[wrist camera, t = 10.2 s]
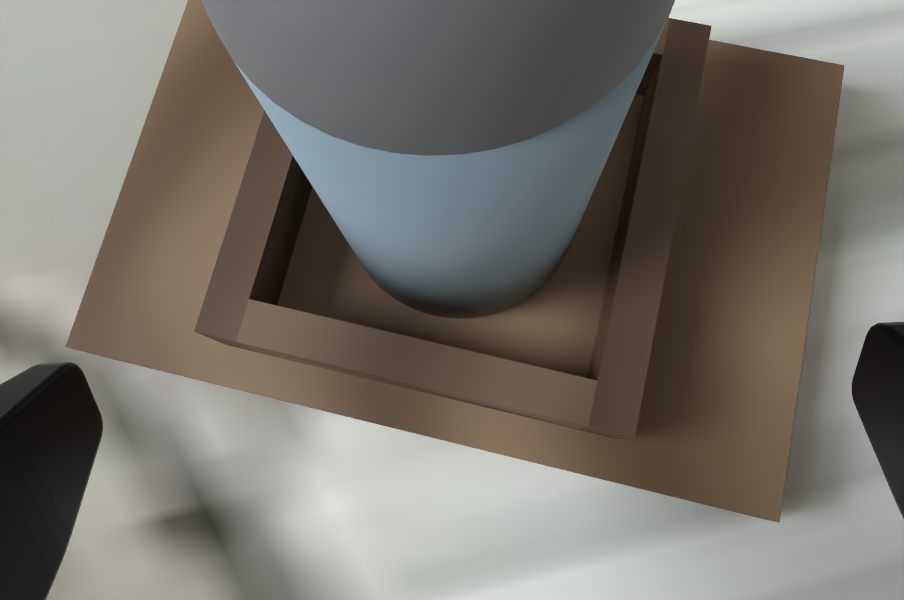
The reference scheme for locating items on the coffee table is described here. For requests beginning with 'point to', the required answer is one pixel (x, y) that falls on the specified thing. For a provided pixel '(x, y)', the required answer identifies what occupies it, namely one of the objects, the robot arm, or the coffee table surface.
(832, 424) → the coffee table surface
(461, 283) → the blue grey domed cylinder
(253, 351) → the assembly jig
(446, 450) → the coffee table surface
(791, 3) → the coffee table surface
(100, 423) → the robot arm
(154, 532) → the coffee table surface
